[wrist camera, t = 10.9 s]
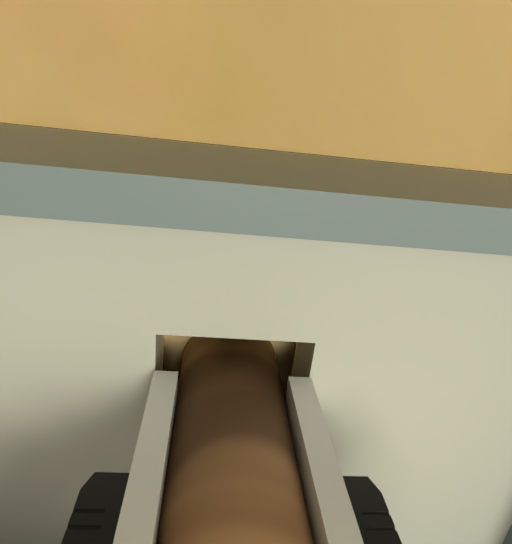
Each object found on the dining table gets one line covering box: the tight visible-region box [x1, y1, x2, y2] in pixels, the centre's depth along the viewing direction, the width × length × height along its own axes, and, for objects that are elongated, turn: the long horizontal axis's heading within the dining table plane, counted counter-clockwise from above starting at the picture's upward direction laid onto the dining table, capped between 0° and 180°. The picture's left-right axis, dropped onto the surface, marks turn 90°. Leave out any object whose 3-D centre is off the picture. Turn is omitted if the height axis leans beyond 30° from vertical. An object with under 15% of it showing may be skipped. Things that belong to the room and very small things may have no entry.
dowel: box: [156, 336, 314, 544], centre depth 12 cm, size 4×4×12 cm
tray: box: [0, 123, 512, 544], centre depth 14 cm, size 26×16×6 cm, turn 84°
